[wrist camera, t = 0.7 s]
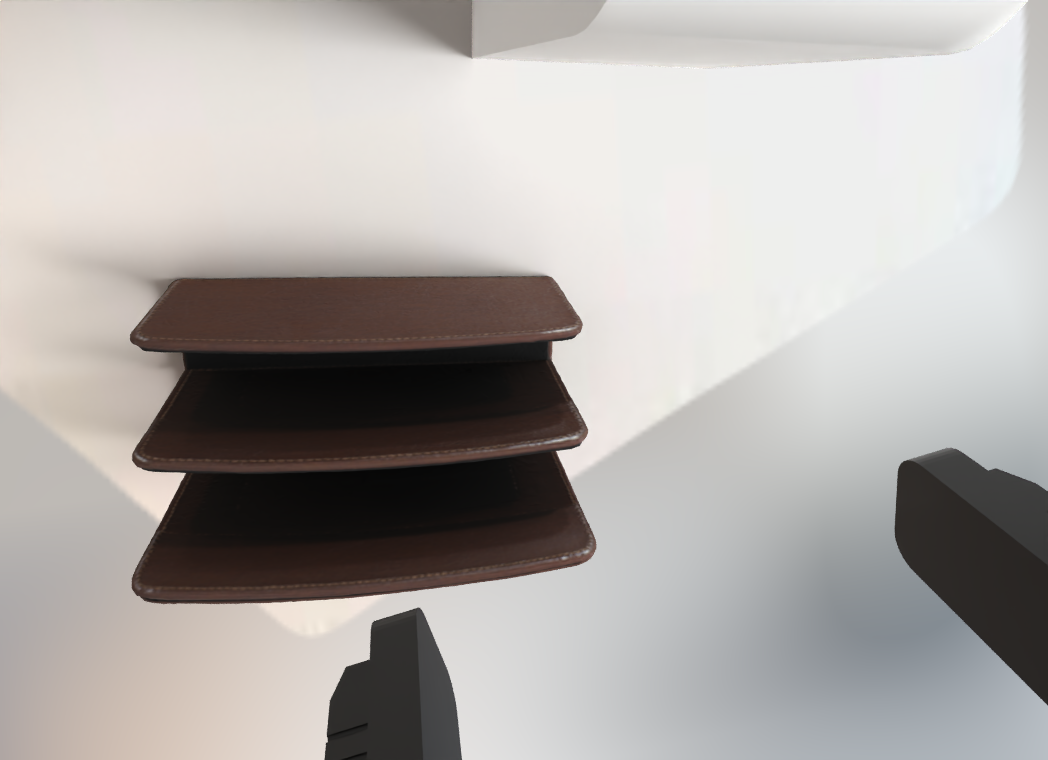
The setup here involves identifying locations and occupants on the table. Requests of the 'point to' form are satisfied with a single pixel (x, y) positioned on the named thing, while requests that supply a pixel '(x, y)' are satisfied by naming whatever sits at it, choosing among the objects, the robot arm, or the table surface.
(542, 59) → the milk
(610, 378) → the table surface
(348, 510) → the letter holder
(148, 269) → the table surface
